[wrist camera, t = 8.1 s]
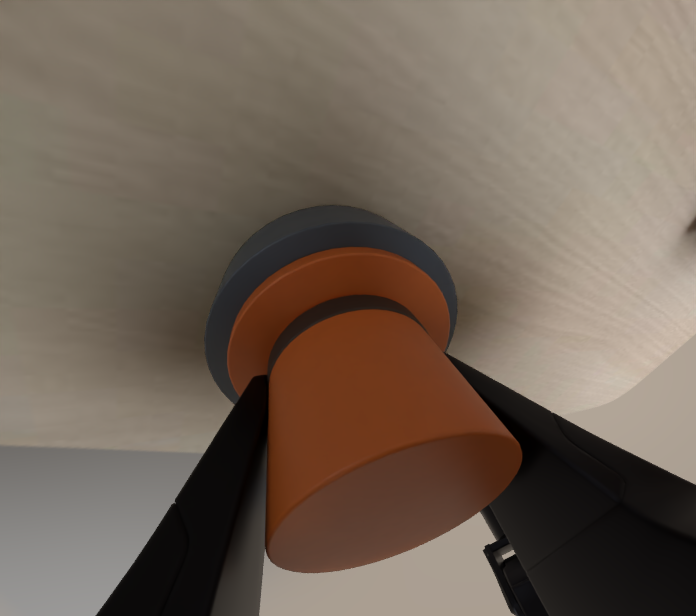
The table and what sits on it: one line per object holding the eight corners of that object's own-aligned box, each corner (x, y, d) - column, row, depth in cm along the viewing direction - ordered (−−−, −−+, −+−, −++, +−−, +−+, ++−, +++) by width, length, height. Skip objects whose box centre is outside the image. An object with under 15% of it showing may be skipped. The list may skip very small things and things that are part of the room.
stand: (407, 371, 14) (429, 407, 12) (242, 398, 12) (235, 447, 10) (445, 205, 10) (491, 219, 8) (189, 204, 8) (158, 224, 6)
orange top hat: (420, 400, 12) (497, 531, 8) (251, 433, 10) (234, 625, 6) (466, 241, 8) (674, 339, 4) (200, 251, 6) (51, 451, 2)
